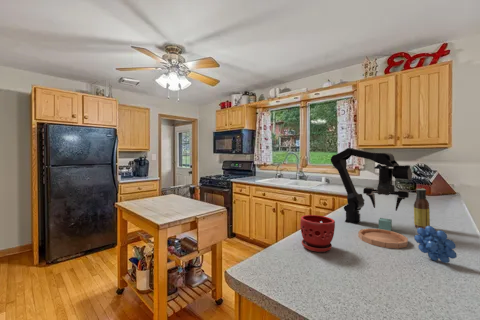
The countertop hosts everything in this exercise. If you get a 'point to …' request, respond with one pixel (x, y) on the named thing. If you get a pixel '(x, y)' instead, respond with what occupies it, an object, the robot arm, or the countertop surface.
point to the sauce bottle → (421, 210)
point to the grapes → (435, 244)
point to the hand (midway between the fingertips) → (385, 209)
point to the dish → (383, 238)
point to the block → (385, 224)
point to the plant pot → (317, 232)
